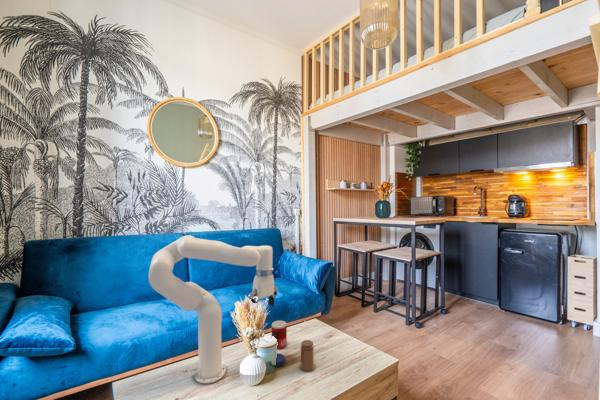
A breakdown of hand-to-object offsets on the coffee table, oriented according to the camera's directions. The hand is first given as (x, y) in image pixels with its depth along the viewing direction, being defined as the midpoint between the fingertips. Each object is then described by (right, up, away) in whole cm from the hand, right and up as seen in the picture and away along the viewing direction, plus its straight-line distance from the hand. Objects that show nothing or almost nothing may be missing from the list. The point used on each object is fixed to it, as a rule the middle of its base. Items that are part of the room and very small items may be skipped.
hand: (263, 308), depth 130 cm
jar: (+20, -24, -6) cm, 32 cm away
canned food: (+6, -24, +12) cm, 28 cm away
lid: (+7, -22, -2) cm, 23 cm away
